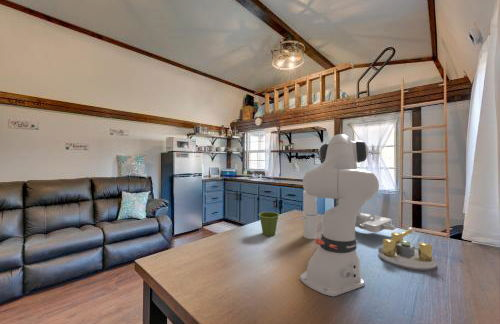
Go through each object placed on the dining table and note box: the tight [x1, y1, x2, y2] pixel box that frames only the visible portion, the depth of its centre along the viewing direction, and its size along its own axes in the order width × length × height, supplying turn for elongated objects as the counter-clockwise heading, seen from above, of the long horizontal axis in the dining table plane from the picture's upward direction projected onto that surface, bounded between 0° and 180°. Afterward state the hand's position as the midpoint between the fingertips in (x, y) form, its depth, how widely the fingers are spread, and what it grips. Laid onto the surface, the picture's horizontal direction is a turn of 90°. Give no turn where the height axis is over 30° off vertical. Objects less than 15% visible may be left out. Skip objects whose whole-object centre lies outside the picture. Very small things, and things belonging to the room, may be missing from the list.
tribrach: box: [377, 238, 437, 272], centre depth 95 cm, size 20×20×8 cm
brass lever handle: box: [390, 227, 415, 248], centre depth 106 cm, size 20×4×6 cm, turn 126°
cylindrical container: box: [302, 190, 318, 240], centre depth 122 cm, size 7×7×25 cm
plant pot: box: [258, 211, 280, 237], centre depth 127 cm, size 12×12×11 cm
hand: (394, 228), depth 115 cm, fingers closed
